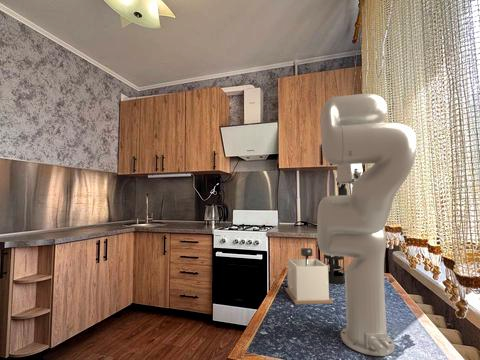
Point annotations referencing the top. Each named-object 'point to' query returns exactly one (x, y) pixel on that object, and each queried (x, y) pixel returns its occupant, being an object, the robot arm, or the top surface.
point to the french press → (335, 270)
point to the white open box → (308, 282)
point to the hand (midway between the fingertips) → (349, 199)
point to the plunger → (306, 254)
